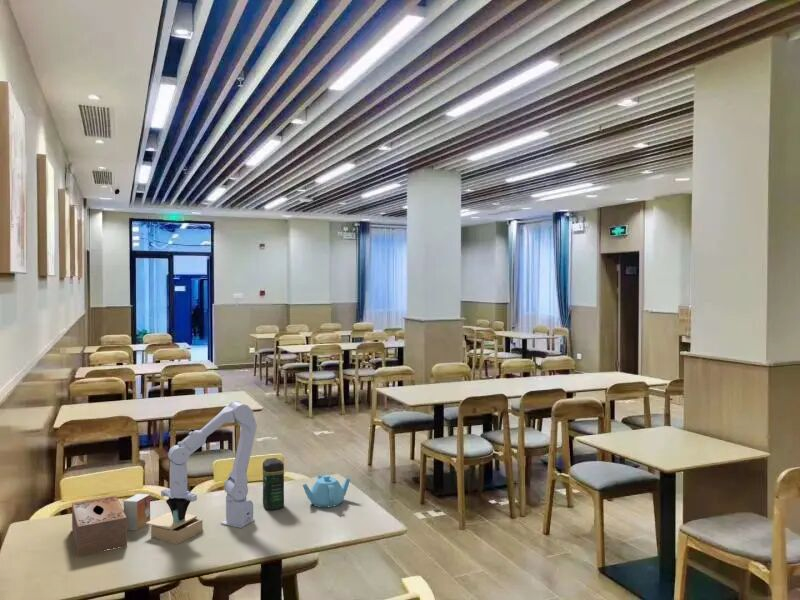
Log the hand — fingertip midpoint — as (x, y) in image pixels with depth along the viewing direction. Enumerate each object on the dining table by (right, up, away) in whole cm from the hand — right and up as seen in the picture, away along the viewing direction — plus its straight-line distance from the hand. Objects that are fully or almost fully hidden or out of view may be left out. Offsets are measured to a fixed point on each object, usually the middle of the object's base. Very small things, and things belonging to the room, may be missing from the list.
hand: (179, 518), depth 209 cm
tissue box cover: (-27, -6, -2) cm, 28 cm away
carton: (-1, -6, 0) cm, 6 cm away
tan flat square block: (-3, -1, +1) cm, 4 cm away
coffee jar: (+27, -5, +27) cm, 39 cm away
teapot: (+48, -5, +32) cm, 58 cm away
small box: (-18, -6, +8) cm, 21 cm away
